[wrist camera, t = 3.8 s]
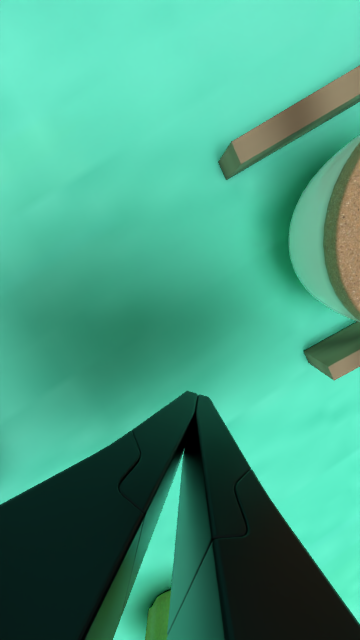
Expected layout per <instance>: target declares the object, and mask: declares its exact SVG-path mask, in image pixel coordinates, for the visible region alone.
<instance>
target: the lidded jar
mask: <svg viewBox="0 0 360 640" xmlns="http://www.w3.org/2000/svg"><path fill="white" fill-rule="evenodd" d="M289 253H290V259H291V262H292V266H293V269H294V271H295V273H296V275H297V277H298V279H299V280H300V282H301V283H302V284H303V286H304V287H305V289H306V290H307V291H308V292H309V293H310V294H311V295H312V296H313V297H314V298H315V299H317V300H318V301H319V302H321V303H322V304H323V305H325V306H326V307H328V308H330V309H331V310H333V311H335V312H337V313H338V314H340V315H343V316H345V317H347V318H350V319H352V320H355V321H357V322H360V135H358V136H357V137H355V138H354V139H353V140H351V141H350V142H349V143H348V144H346V145H345V146H344V147H343V148H342V149H340V150H339V151H338V152H337V153H336V154H335V155H334V156H332V157H331V158H330V159H329V160H328V161H327V162H326V163H325V164H324V165H323V166H322V167H321V168H320V170H319V171H318V172H317V173H316V174H315V176H314V177H313V178H312V179H311V180H310V182H309V183H308V185H307V187H306V188H305V190H304V191H303V193H302V195H301V197H300V198H299V201H298V203H297V205H296V207H295V209H294V212H293V216H292V219H291V223H290V229H289Z"/></svg>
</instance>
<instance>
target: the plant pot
mask: <svg viewBox="0 0 360 640" xmlns="http://www.w3.org/2000/svg"><path fill="white" fill-rule="evenodd" d="M170 596H171V590H170V591H168V592H165V593H163V594H161V595H160V596H158V597H157V598H156V600H155V602H154V604H153V606H152V607H151V608H149V611H148V618H147V628H146V637H145V640H167V637H168V635H167V630H168V619H169V608H170Z"/></svg>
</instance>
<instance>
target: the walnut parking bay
mask: <svg viewBox="0 0 360 640" xmlns="http://www.w3.org/2000/svg"><path fill="white" fill-rule="evenodd" d="M358 102H360V66H358V67H356V68H355V69H353V70H351V71H350V72H348V73H346V74H345V75H343V76H341V77H339V78H338V79H336V80H334V81H333V82H331V83H329V84H328V85H326V86H324V87H323V88H321V89H319V90H318V91H316V92H314V93H313V94H311V95H309V96H308V97H306V98H304V99H302V100H301V101H299V102H297V103H296V104H294V105H292V106H291V107H289V108H287V109H286V110H284V111H282V112H281V113H279V114H277V115H276V116H274V117H272V118H271V119H269V120H267V121H266V122H264V123H262V124H260V125H259V126H257V127H255V128H254V129H252V130H250V131H249V132H247V133H245V134H244V135H242V136H240V137H239V138H237V139H235V140H234V141H232V142H231V143H230V145H229V146H228V148H227V149H226V151H225V152H224V154H223V155H222V157H221V158H220V160H219V161H218V163H219V165H220V167H221V169H222V172H223V174H224V176H225V178H226V180H227V179H229V178H231V177H232V176H234V175H236V174H238V173H239V172H241V171H243V170H244V169H246V168H248V167H249V166H251V165H253V164H254V163H256V162H258V161H260V160H261V159H263V158H265V157H266V156H268V155H270V154H271V153H273V152H275V151H277V150H278V149H280V148H282V147H283V146H285V145H287V144H288V143H290V142H292V141H294V140H295V139H297V138H299V137H300V136H302V135H304V134H305V133H307V132H309V131H311V130H312V129H314V128H316V127H317V126H319V125H321V124H322V123H324V122H326V121H328V120H329V119H331V118H333V117H334V116H336V115H338V114H339V113H341V112H343V111H345V110H346V109H348V108H350V107H351V106H353V105H355V104H356V103H358ZM304 353H305V355H306V358H307V360H308V362H309V363H310V364H311V365H312V366H314V367H315V368H317V369H318V370H320V371H321V372H323V373H324V374H325V375H327V376H328V377H330V378H331V379H333V380H336V379H338V378H340V377H341V376H343V375H345V374H347V373H349V372H351V371H352V370H354V369H356V368H358V367H360V322H356V323H354V324H352V325H350V326H348V327H347V328H345V329H343V330H341V331H339V332H338V333H336V334H334V335H332V336H330V337H328V338H327V339H325V340H323V341H321V342H319V343H318V344H316V345H314V346H312V347H310V348H308V349H307V350H305V351H304Z"/></svg>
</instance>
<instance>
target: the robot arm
mask: <svg viewBox="0 0 360 640" xmlns="http://www.w3.org/2000/svg"><path fill="white" fill-rule="evenodd" d="M184 448H185V449H184ZM183 451H184V454H183ZM182 455H183V463H182V474H181V485H180V496H179V507H178V518H177V530H176V541H175V552H174V563H173V574H172V585H171V596H170V608H169V619H168V630H167V635H168V637H167V640H360V624H359V623H358V621H357V620H356V618H355V617H354V616H353V614H352V613H351V611H350V610H349V609H348V607H347V606H346V604H345V603H344V602H343V600H342V599H341V597H340V596H339V595H338V593H337V592H336V591H335V589H334V588H333V586H332V585H331V584H330V582H329V581H328V579H327V578H326V577H325V575H324V574H323V572H322V571H321V570H320V568H319V567H318V565H317V564H316V563H315V561H314V560H313V559H312V557H311V556H310V554H309V553H308V552H307V550H306V549H305V547H304V546H303V545H302V543H301V542H300V540H299V539H298V538H297V536H296V535H295V533H294V532H293V531H292V529H291V528H290V526H289V525H288V524H287V522H286V521H285V520H284V518H283V517H282V515H281V514H280V512H279V511H278V509H277V508H276V506H275V505H274V504H273V502H272V501H271V499H270V498H269V496H268V495H267V493H266V491H265V490H264V488H263V487H262V485H261V483H260V482H259V480H258V478H257V477H256V475H255V473H254V472H253V470H251V467H250V466H249V464H248V462H247V461H246V459H245V457H244V456H243V454H242V452H241V450H240V449H239V447H238V445H237V444H236V442H235V440H234V439H233V437H232V435H231V434H230V432H229V430H228V428H227V427H226V425H225V423H224V422H223V420H222V418H221V417H220V415H219V413H218V411H217V410H216V408H215V406H214V405H213V403H212V401H211V400H210V398H209V397H206V396H203V395H197V394H196V393H193V392H190V391H186V392H185V393H183V394H182V395H181V396H179V397H178V398H176V399H175V400H174V401H172V402H171V403H169V404H168V405H167V406H165V407H164V408H162V409H161V410H160V411H158V412H157V413H155V414H154V415H153V416H151V417H150V418H148V419H147V420H146V421H144V422H143V423H141V424H140V425H139V426H137V427H136V428H134V429H133V430H132V431H130V432H128V433H127V434H125V435H124V436H123V437H121V438H120V439H118V440H117V441H115V442H114V443H112V444H111V445H109V446H107V447H106V448H104V449H102V450H100V451H99V452H97V453H95V454H93V455H92V456H90V457H88V458H86V459H84V460H82V461H80V462H79V463H77V464H75V465H73V466H71V467H69V468H68V469H66V470H64V471H62V472H60V473H58V474H56V475H55V476H53V477H51V478H49V479H47V480H45V481H43V482H42V483H40V484H38V485H36V486H34V487H32V488H30V489H29V490H27V491H25V492H23V493H21V494H19V495H17V496H16V497H14V498H12V499H10V500H8V501H6V502H4V503H3V504H1V505H0V640H113V638H114V635H115V632H116V629H117V627H118V624H119V621H120V618H121V616H122V614H123V611H124V608H125V606H126V603H127V600H128V598H129V595H130V592H131V590H132V587H133V584H134V582H135V579H136V577H137V574H138V571H139V569H140V566H141V563H142V561H143V558H144V555H145V553H146V550H147V548H148V545H149V542H150V540H151V537H152V534H153V532H154V529H155V526H156V524H157V521H158V518H159V516H160V513H161V511H162V508H163V505H164V503H165V500H166V497H167V495H168V492H169V489H170V487H171V484H172V482H173V479H174V476H175V474H176V471H177V468H178V466H179V463H180V460H181V458H182Z"/></svg>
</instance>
